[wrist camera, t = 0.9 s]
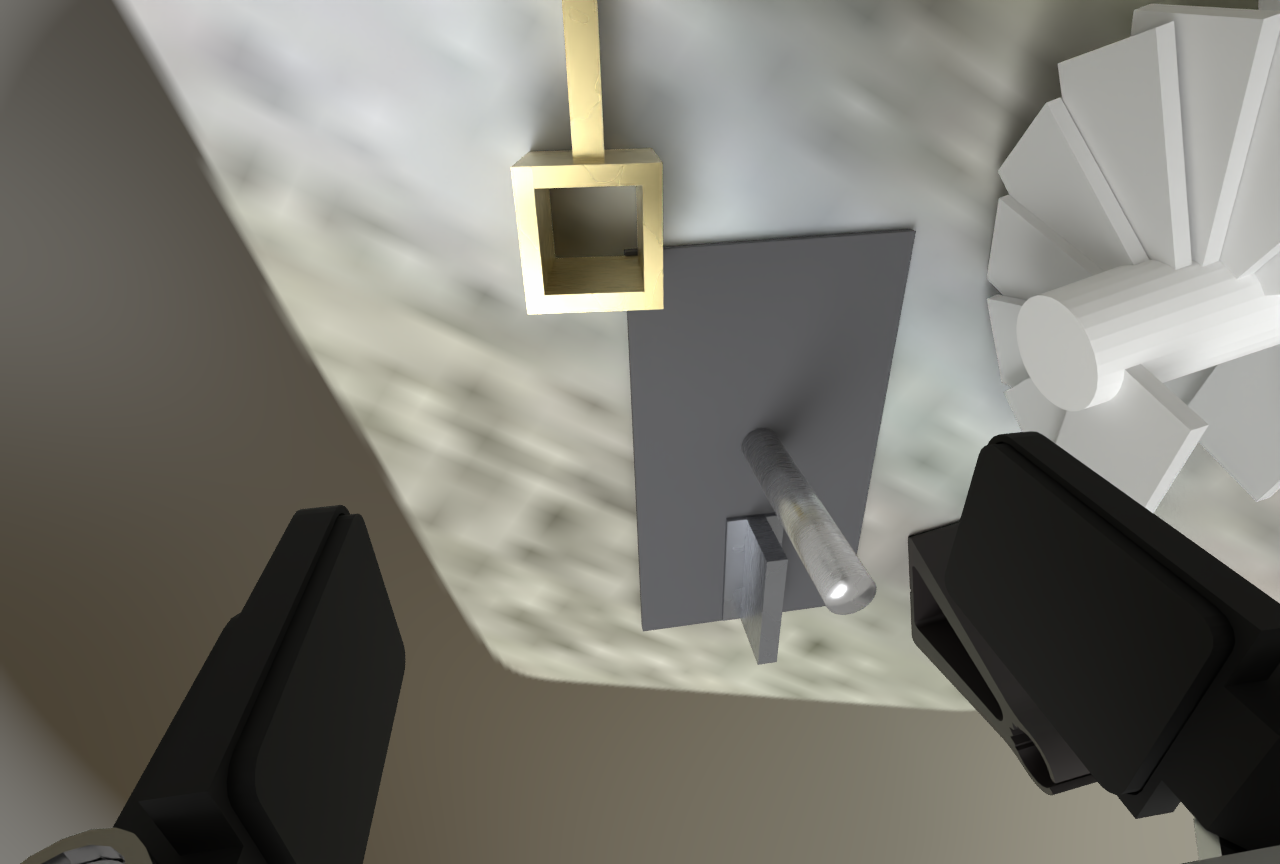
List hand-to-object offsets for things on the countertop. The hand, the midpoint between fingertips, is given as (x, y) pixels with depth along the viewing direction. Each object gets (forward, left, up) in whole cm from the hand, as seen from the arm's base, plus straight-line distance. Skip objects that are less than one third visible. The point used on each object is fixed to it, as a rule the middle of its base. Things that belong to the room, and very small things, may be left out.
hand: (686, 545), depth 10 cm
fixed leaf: (+14, +7, -17) cm, 24 cm away
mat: (+10, +7, -18) cm, 22 cm away
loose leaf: (-6, 0, -17) cm, 18 cm away
